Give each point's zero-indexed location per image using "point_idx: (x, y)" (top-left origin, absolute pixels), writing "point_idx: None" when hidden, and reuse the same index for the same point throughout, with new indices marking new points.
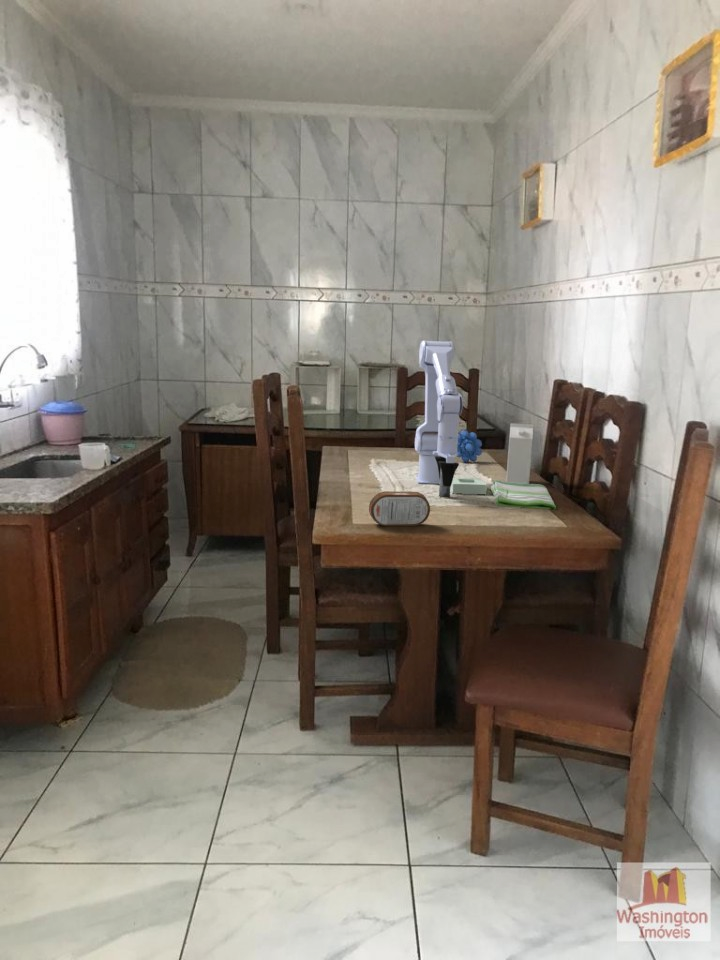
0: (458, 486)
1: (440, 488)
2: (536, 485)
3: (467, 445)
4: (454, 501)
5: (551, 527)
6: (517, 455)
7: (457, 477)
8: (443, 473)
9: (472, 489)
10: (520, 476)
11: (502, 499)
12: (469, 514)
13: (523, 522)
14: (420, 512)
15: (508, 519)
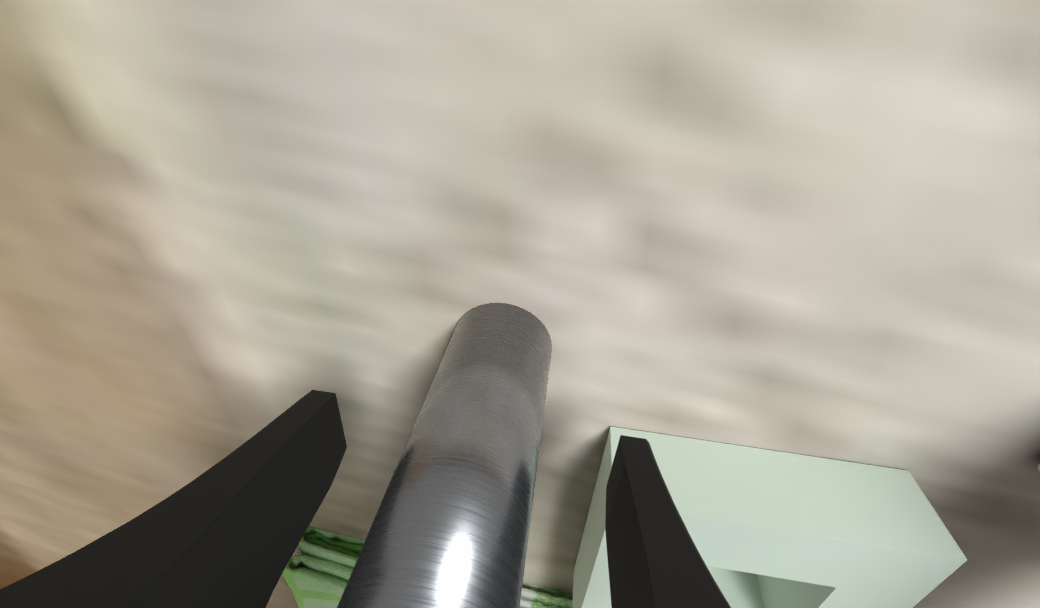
0: (604, 511)
1: (459, 359)
2: None
3: None
4: (344, 368)
5: (12, 552)
6: None
7: (910, 604)
8: (153, 520)
9: (586, 555)
10: None
11: (286, 580)
12: (6, 352)
13: (21, 508)
14: None
15: (33, 480)
